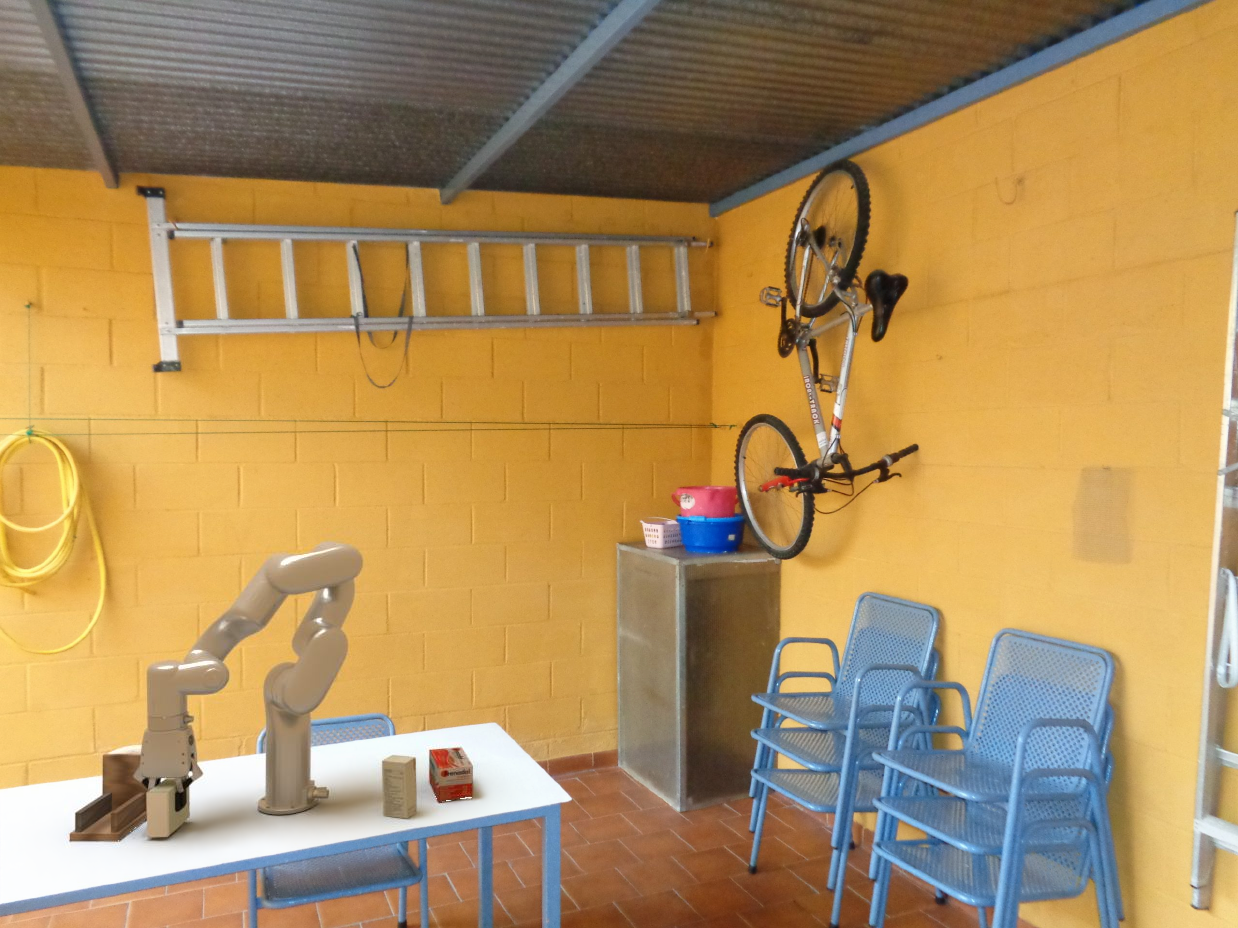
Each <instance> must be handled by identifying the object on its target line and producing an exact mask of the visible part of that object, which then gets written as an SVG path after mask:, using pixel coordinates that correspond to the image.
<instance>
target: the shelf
mask: <svg viewBox="0 0 1238 928" xmlns="http://www.w3.org/2000/svg"><path fill="white" fill-rule="evenodd" d="M140 758H141V754H108V753H104V754H102V782H101V783H102V784H101V785H102V788H101V790H102V793H101V795H100V796H99V797H97V798H95V799H94V800H92V801H91V802H89V803H88V804H86V805H85V806H83V807H82V808H80V809H79V810H77V811H76V812H74V830H73V831H70V833H69V842H119V841H118V840H120V841H121V840H123V839H124V838H125V837H126V835H127V834H128V833H129V832H130V831H132V830H133V829H134V828H135V827H137V826H138V827H140V826H141V825H142V824H143V823H145V822H146V821H147V820H146V819H147V797H146V793H147V792H148V789H147V788H146V787H145V786H144V785H143V784H142V782H140V781H138V780H137V779H135V778H134V777H133V776H134V774H135V772H136V771H137V769H138V768H139V766H140ZM145 820H146V821H145ZM144 821H145V822H144ZM142 822H143V823H142ZM141 823H142V824H141ZM140 824H141V825H140ZM139 825H140V826H139ZM138 827H137V828H138ZM134 830H135V829H134ZM134 830H133V831H134ZM133 831H132V832H133ZM129 834H130V833H129ZM129 834H128V835H129ZM128 835H127V836H128ZM124 836H125V837H124ZM123 837H124V838H123ZM122 838H123V839H122Z"/></svg>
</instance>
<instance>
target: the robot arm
mask: <svg viewBox="0 0 1238 928" xmlns="http://www.w3.org/2000/svg"><path fill="white" fill-rule="evenodd" d="M363 559H364V557H363V556H362V553H361V552H360V550H359V549H357V548H356V547H355V546H353V545H350V544H348V543H347V544H346V543H343V542H338V541H332V540H330V541H329V540H327V541H323V542H320V543H318V544H317V545H316V546H315V547H314V548H313V550H312V552H309V553H305V554H304V553H303V554H296V555H295V554H292V553H288V552H287V553H286V552H278V553H274V554H273V555H271V556H269V557H268V558H267V559H266V560H265V561H264V563H263V564H262V565H261V566H260V568H259V569H258V570H257V572H256V573H255V574H254V575H253V577H252V578H251V580H250V581H249V582H248V584H247V585H246V586H245V587H244V588H243V590H242V591H241V593H240V594H239V595H238V597H237V598H236V599H235V601H234V602H233V603H232V604H231V606H230V607H229V608H227V610H226V611H224V612H223V613H222V614H221V615H220V616H219V617H218V618H217V619H216V620H215V621H214V622H212V623H211V624H210V625H209V626H208V628H206V630H205V631H204V632H203V633H202V634H201V635H200V637H198V639H197V640H196V642H195V643H194V644H193V646H192V647H191V648H190V650H189V651H188V652H187V654H186V655H185V657H184V658H183V660H176V659H175V660H174V659H173V660H172V659H171V660H162V661H157V662H154V663H152V664H150V665H149V666H148V667H147V671H146V707H147V708H146V710H147V711H146V715H147V716H146V718H147V719H146V721H147V725H146V726H147V728H146V729H144V733H143V736H142V741H141V745H142V747H141V758H140V766H139V768H138V769H137V771H136V772H135V774H134V776H133V777H134V778H135V779H137V780H138V781H140V782H142V784H143V785H144V786H145V787H146V788H147V789H148V791H150V790H151V789H153V788H154V787H155V786H157V785H158V784H159V783H161V782H162V779H166V778H175V781H176V786H177V792H176V793H175V811H176V812H179V811H180V810H182V809H183V808H184V807H185V805H186V803H187V788H188V787H189V788H190V786H191V785H192V784H193V783H194V782H195V781H196V780H198V779H200V778H201V777H203V775H204V772H203V771H202V769H201V767H200V766H199V765H198V754H197V752H198V751H197V743H196V738H195V733H194V729H193V726H192V725H191V724H190V723H194V721H195V716H194V715H190V713H189V710H188V709H189V708H188V696H205V695H208V696H209V695H213V694H217V693H219V692H221V691H222V690H223V689H225V687H226V686H227V685H228V683H229V680H230V670H229V668H228V666H227V664H225V663H224V662H225V659H226V658H227V657H228V655H229V654H230V653H231V652H232V650H233V649H234V648H235V647H237V645H239V644H240V643H241V642H243V640H245V639H246V638H248V637H250V636H252V635H255V634H257V633H259V632H260V631H262V630H263V629H265V628H266V627H267V626H268V624H269V623H270V622H271V620H272V619H273V618H274V616H275V615H276V613H277V612H278V611H279V609H280V608H281V606H282V605H283V603H285V601H286V600H287V599H288V597H289V596H294V595H295V596H296V595H303V594H308V593H312V592H316V593H315V595H314V597H313V599H312V602H311V604H310V606H309V607H308V609H307V611H306V612H305V614H304V617H303V618H302V620H301V622H300V623H299V625H298V627H297V628H296V631H295V632H294V634H293V637H292V640H291V648H292V651H293V652H294V653H295V655H296V656H298V659H297V661H296V662H291V661H285V662H281V663H279V664H276V665H274V666H273V667H272V668H270V670H269V671H268V673H267V674H266V676H265V678H264V682H263V690H262V691H263V702H264V709H265V710H264V711H265V796H263V797H262V798H260V799H259V801H258V802H257V808H258V810H259V811H260V812H261V813H263V814H264V813H265V814H267V815H277V816H278V815H280V816H281V815H291V814H296V813H301V812H304V811H307V810H309V809H311V808H313V807H314V806H316V805H317V804H318V801H319V800H318V799H320V800H321V799H325V800H326V799H327V800H328V799H329V796H330V789H328V787H327V786H317V785H315V783H316V782H315V781H316V780H315V779H312V778H311V773H312V772H311V766H312V765H311V763H312V762H311V755H312V754H311V753H312V747H311V746H312V741H311V740H312V717H311V713H312V712H314V711H315V710H317V708H318V707H319V706H320V705H321V704H322V703H323V701H324V700H325V697H326V696H327V694H328V692H329V691H330V689H331V687H332V685H333V683H334V681H335V679H336V678H337V676H338V674H339V672H340V670H341V668H342V666H343V664H344V663H345V660H346V657H347V656H348V650H349V639H348V637H347V635H346V633H345V632H344V630H343V629H342V627H343V626H344V624H345V621H346V620H347V617H348V615H349V613H350V611H351V609H352V607H353V603H354V599H355V595H356V584H355V579H356V578H357V577H358V576H359V575H360V573H361V572H362V569H363V566H364V560H363ZM190 772H191V773H192V775H191V776H190V775H189V774H190ZM188 775H189V778H188V777H187V776H188Z"/></svg>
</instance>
